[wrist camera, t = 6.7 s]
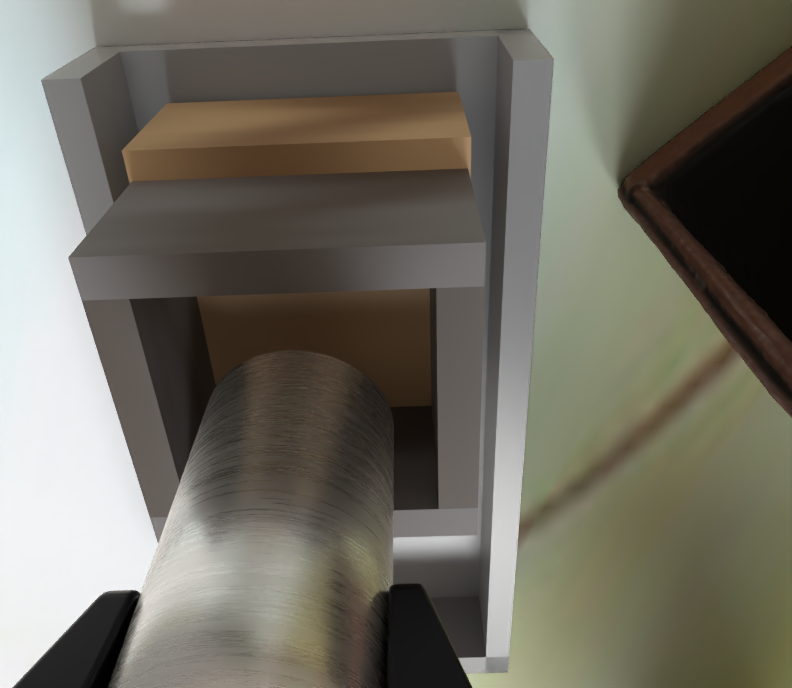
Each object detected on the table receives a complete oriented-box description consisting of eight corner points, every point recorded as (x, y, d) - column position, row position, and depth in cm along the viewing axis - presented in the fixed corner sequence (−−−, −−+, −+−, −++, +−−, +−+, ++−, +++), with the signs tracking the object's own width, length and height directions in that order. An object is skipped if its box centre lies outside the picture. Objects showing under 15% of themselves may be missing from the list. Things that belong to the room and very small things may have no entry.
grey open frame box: (458, 92, 15) (490, 205, 10) (456, 371, 19) (478, 555, 14) (166, 103, 15) (54, 221, 10) (224, 378, 19) (161, 564, 14)
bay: (528, 29, 15) (553, 58, 13) (497, 596, 25) (508, 672, 23) (95, 47, 15) (40, 79, 13) (233, 603, 25) (217, 679, 23)
